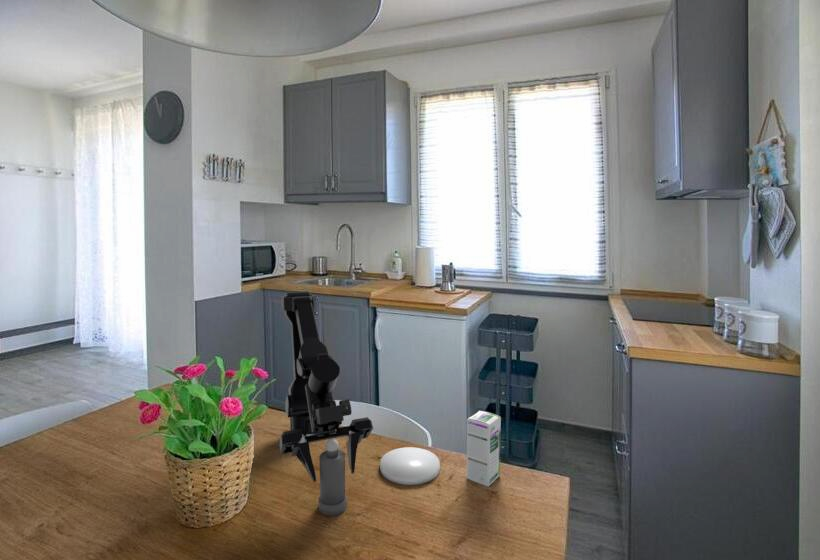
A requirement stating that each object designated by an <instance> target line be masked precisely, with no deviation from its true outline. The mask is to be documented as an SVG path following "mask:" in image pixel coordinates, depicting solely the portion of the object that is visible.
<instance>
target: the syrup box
mask: <svg viewBox="0 0 820 560" xmlns="http://www.w3.org/2000/svg"><path fill="white" fill-rule="evenodd" d="M501 422H502V417H501V416H500V415H497V414H496V413H492V412H489V411H483V410H478V411H477V412H476V413H474V414H473V415H471V416H470V417H468V418H467V419H466V479H467V480H470V481H472V482H475V483H477V484H480V485H481V486H485V487H488V488H489V487H490V485H491V484H493V482H495V481H496V480H497V479H498V478H499V477H500V476H501V437H502V436H501V434H502V433H501Z"/></svg>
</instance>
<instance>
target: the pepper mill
mask: <svg viewBox="0 0 820 560" xmlns="http://www.w3.org/2000/svg"><path fill="white" fill-rule="evenodd" d="M339 448H340V444H339V442H338V440H337V439H336V438H333V439H328V441H327V442H326V443H325V449H326V450H325V451H322V452H321V453H320V454H319V496H318V511H319V513H321V514H322V515H324V516H327V517H334V516H338V515H341V514H342V513H344V512H345V511H346V510H347V508H348V499H347V498H348V497H347V493H346V454H345V452H344V451H343V450H340V449H339Z"/></svg>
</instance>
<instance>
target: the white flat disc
mask: <svg viewBox="0 0 820 560" xmlns="http://www.w3.org/2000/svg"><path fill="white" fill-rule="evenodd" d="M440 464H441V463H440V459H439V457H438V456H437V455H436V454H435V453H433V452H432V451H430V450H427V449H424V448H421V447H412V446H411V447H410V446H408V447H406V446H405V447H400V448H399V447H398V448H395V449H392V450H389V451H388V452H387V453H385V454H383V456H382V457H381V459H380V466H379V467H380V472H381V474H382V476H383V477H384V478H385V479H387V480H388V481H389V482H392V483H395V484H399V485H405V486H406V485H407V486H414V485H415V486H416V485H417V486H418V485H422V484H426V483H429V482H431V481H433V480H434V479H435V478H436V477H437V476H439V473H440V467H441V465H440Z"/></svg>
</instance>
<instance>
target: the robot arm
mask: <svg viewBox="0 0 820 560" xmlns="http://www.w3.org/2000/svg"><path fill="white" fill-rule="evenodd" d="M280 298H281V299H280V303H281V304H280V305H281V306H280V307H281V309H282V311H283V314H284V316H285V318H286V320H287V321H288V322H289V324H290V335H291V336H290V337H291V352H292V370H293V379H292V381H291V383H290V384H289V387H288V390H287V391H288V394H287V395H286V397H285V403H284V406H285V413H286V416H287V418H288V419H289V421H290V422H289V424H290V429H289V430H286V431H285V430H284V431H283V432H282V433H281V435H280V439H279V453H280V455H286V454H287V455H288V454H291V455H290V456H291V457H296V458H297V460H299V461H300V463H301V464H302V465H303V467H304V469H305V470H306V472H307V474H308V476H309V477H310V479H311V481H312V482H313V483H316V481H317V477H316V476H317V475H316V470H315V466H314V462H313V459H312V455H311V449H310V443H311V444H312V443H317V442H320V441H321V442H322V441H326V440H331V439H337V438H343V437H347V441H346V444H345V445H346V453H347V458H348V459H347V460H348V466H349V467H348V468H349V470H350V474H352V475H353V474H354V473H355V469H356V460H357V451H358V450H357V449H358V446H359V444H360V443H361V442H362V440H363V439H367V438H368V437H369V436H370V434H371V432H372V431H373V429H374V426H373V422H372V420H371V419H370V418H369V417H367V416H366V417H361V418H355V419H352V420H351V422H350V423H349V425H348V426H342V427H341V425H342V424H343V421H344V417H346V416H351V415H352V406H351V401H350V398H348V399H342V400H339V401H338V404H337V403H336V400H335V398H334V392H333V390H334V389H335V387H336V384H337V381H338V378H339V376H340V373H341V371H340V369H341V368H340V365H339V364H338V363H337V362H336V360H334V358H333V357H332V355H331V354H329V350H328V348H327V345H326V344H324V343H323V341H321V339H320V335H319V331H318V326H317V323H316V317H315V312H314V310H316V295H314V294H310V292H309V291H308V290H305V291H286V292H285V294H284V295H283V296H281V297H280Z"/></svg>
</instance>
